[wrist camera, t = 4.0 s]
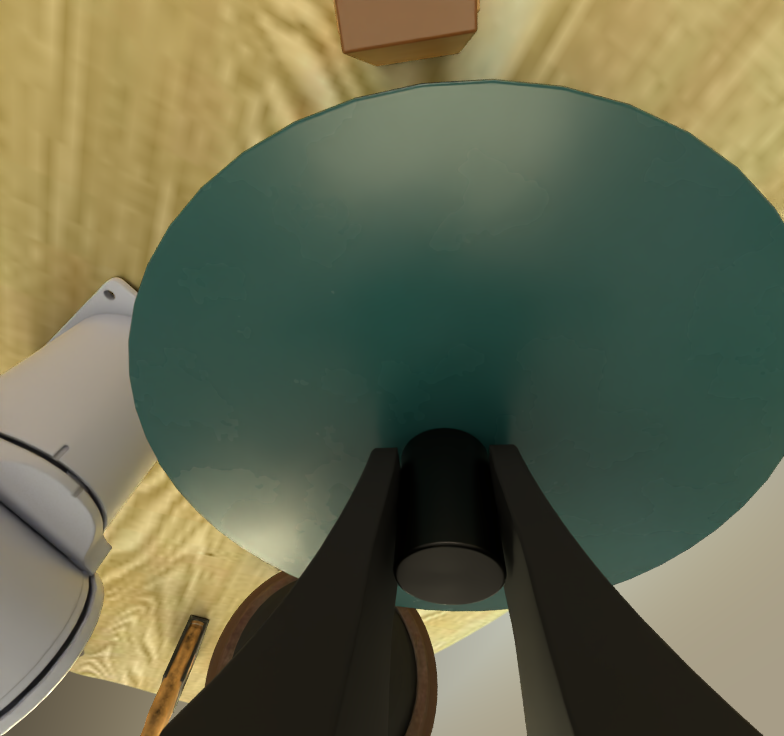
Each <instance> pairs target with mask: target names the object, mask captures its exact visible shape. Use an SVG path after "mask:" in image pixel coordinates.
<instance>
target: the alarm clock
mask: <svg viewBox="0 0 784 736" xmlns="http://www.w3.org/2000/svg"><path fill="white" fill-rule="evenodd" d="M298 579H299V578H297V577H294V576H292V575H289V574H287V573H286V572H284V571H281V572H280V573H278V574H276V575H274V576H273V577H271V578H270V579H268V580H267V581H265V582H264V583H263V584H261V585H260V586H259V587H258V588H257V589H255V590H254V591H253V592H252V593H251V594H250V595H249V596H248V597H247V598H246V599H245V600H244V602H243V603H242V604H241V605H240V606H239V608H238V609H237V610H236V611H235V613H234V614H233V615H232V617H231V619H230V620H229V622H228V623H227V625H226V627H225V628H224V630H223V632H222V634H221V636H220V638H219V640H218V643H217V645H216V647H215V650H214V652H213V655H212V658H211V661H210V665H209V669H208V673H207V677H206V683H205V687H206V686H207V685H208V684H209V683H210V682H211V681H212V680H213V679H214V677H215V676H216V675H217V674H218V673H219V672H220V671H221V670H222V669H223V668H224V667H225V666H226V665H227V664H228V662H229V661H230V660H231V659H232V658H233V657H234V656H235V655H236V654H237V652H238V651H239V650H240V649H241V648H242V647H243V646H244V645H245V644H246V642H247V641H248V640H249V639H250V638H251V637H252V636H253V635H254V634H255V632H256V631H257V630H258V629H259V628H260V627H261V626H262V624H263V623H264V622H265V621H266V620H267V618H268V617H269V616H270V615H271V614H272V612H273V611H274V610H275V609H276V607H277V606H278V605H279V603H280V602H281V601H282V600H283V598H284V597H285V596H286V595H287V593H288V592H289V591H290V589H291V588H292V587H293V586H294V584H295V583H296V581H297V580H298ZM437 687H438V686H437V671H436V662H435V657H434V652H433V648H432V644H431V641H430V638H429V635H428V632H427V630H426V627H425V625H424V623H423V621H422V619H421V617H420V615H419V613H418V612H417V610H416V609H415V608H407V607H399V606H395V609H394V617H393V627H392V638H391V659H390V682H389V710H388V736H430V735H431V732H432V728H433V724H434V718H435V713H436V705H437Z"/></svg>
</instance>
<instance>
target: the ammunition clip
mask: <svg viewBox="0 0 784 736" xmlns="http://www.w3.org/2000/svg"><path fill="white" fill-rule="evenodd" d="M208 622H209V620H207V619H203V618H200V617H196V616H192V615H191V616H190V618H189V620H188V622H187V625H186V627H185V629H184V631H183V633H182V636H181V638H180V640H179V642H178V644H177V647H176V649H175V651H174V653H173V655H172V658H171V660H170V662H169V664H168V666H167V669H166V671H165V673H164V675H163V679H162V683H161V686H160V688H159V690H158V692H157V695H156V697H155V699H154V701H153V704H152V706H151V708H150V710H149V713H148V715H147V719H146V722H145V726H144V728H143V731H142V733H141V735H140V736H159V735H160V733H161V731H162V730H163V728H164V727H165V726H166V725H167V724H168V721H169V719H170V717H171V714H172V713H173V712H174V710H175V708H176V706H177V703H178V701H179V698H180V696H181V694H182V691H183V689H184V686H185V684H186V681H187V679H188V677H189V674H190V672H191V669H192V667H193V665H194V662H195V660H196V657H197V654H198V652H199V649H200V646H201V643H202V640H203V637H204V634H205V631H206V628H207V625H208Z"/></svg>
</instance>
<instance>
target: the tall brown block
mask: <svg viewBox="0 0 784 736" xmlns="http://www.w3.org/2000/svg"><path fill="white" fill-rule="evenodd" d="M334 7H335V14H336V20H337V27H338V33H339V34H340V40H341V47H342V51H343V53H344V54H347V55H349V56H352V57H354V58H357V59H359V60H362V61H364V62H367V63H369V64H372V65H374V66H382V65H388V64H395V63H401V62H407V61H414V60H420V59H426V58H433V57H439V56H445V55H452V54H458V53H460V51H461V50H462V49H463V48H464V46H465V45H466V44H467V43H468V41H469V40H470V39H471V38H472V36H473V35H474V34H475V33H476V31H477V13H478V12H479V10H480V0H334Z"/></svg>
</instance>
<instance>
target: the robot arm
mask: <svg viewBox="0 0 784 736" xmlns="http://www.w3.org/2000/svg"><path fill="white" fill-rule="evenodd" d="M110 291H111V292H113V294H114V295H115V296H113V295H112V294H111V293H110ZM137 293H138V292H136V291H135V290H134V289H133V288H132V287H131V286H130V285H129V284H127V283H126V282H125V281H124V280H122V279H121V278H118V277H113V278H111V279H109V280H108V281H106V282H105V283H104V284H103V285H102V286H101V287H100V288H99V290H98V291H97V292H96V293H95V294H94V295H93V296H92V297H91V298H90V299H89V300H88V301H87V302H86V303H85V304H84V305H83V306H82V307H81V308H80V309H79V310H78V311H77V312H76V314H75V315H74V316H73V317H72V318H71V319H70V320H69V321H68V322H67V323H66V324H65V325H64V326H63V327H62V328H61V329H60V330H59V331H58V332H57V333H56V334H55V335H54V336H53V338H52V339H51V340H50V341H49V342H48V343H47V344H46V345H45V346H44V347H42V348H41V349H39V350H38V351H36V352H35V353H33V354H32V355H30V356H29V357H27V358H26V359H24V360H23V361H21V362H20V363H18V364H17V365H15V366H14V367H12V368H11V369H9V370H8V371H6V372H5V373H3V374H2V375H0V736H1V735H3V734H4V733H5V732H7V731H8V730H9V729H11V728H12V727H13V726H14V725H16V724H17V723H18V722H19V721H20V720H22V719H23V718H24V717H25V716H26V715H27V714H29V713H30V712H31V711H32V710H33V709H34V708H35V707H36V706H37V705H38V704H39V703H40V702H41V701H42V700H44V699H45V698H46V696H47V695H48V694H49V693H50V692H51V691H52V690H53V689H54V688H55V687H56V686H57V684H58V683H59V682H60V681H61V680H62V679H63V678H64V676H65V675H66V674H67V672H68V671H69V670H70V669H71V667H72V666H73V664H74V663H75V662H76V660H77V659H78V657H79V655H80V654H81V652H82V650H83V649H84V647H85V645H86V644H87V642H88V640H89V638H90V637H91V635H92V633H93V630H94V628H95V626H96V624H97V622H98V619H99V616H100V613H101V610H102V606H103V600H104V586H103V583H102V580H101V578H100V576H99V575H98V574H97V573H96V570H97V569H98V567H99V566H100V564H101V563H102V562H103V560H104V559H105V557H106V556H107V554H108V553H109V552H110V550H111V549H112V547H111V545H110V544H109V543H108V542H107V541H106V539H105V538H104V535H103V533H104V532H105V530H106V529H107V528H108V526H109V525H110V523H111V522H112V521H113V519H114V518H115V517H116V515H117V514H118V513H119V511H120V510H121V509H122V507H123V506H124V504H125V503H126V502H127V500H128V499H129V498H130V496H131V495H132V494H133V492H134V491H135V490H136V488H137V487H138V485H139V484H140V483H141V481H142V480H143V479H144V477H145V476H146V475H147V473H148V472H149V471H150V469H151V468H152V466H153V465H154V464H155V462H156V461H157V458H156V456H155V454H154V452H153V450H152V448H151V447H150V445H149V443H148V441H147V439H146V437H145V434H144V431H143V428H142V425H141V423H140V420H139V417H138V414H137V412H136V409H135V404H134V399H133V394H132V389H131V383H130V378H129V353H128V339H129V333H130V326H131V319H132V313H133V306H134V302H135V299H136V296H137ZM489 468H490V474H491V480H492V487H493V493H494V498H495V504H496V509H497V515H498V521H499V527H500V533H501V540H502V546H503V552H504V558H505V565H506V571H507V576H506V580H505V583H504V585H503V586H504V591H505V595H506V600H507V604H508V609H509V613H510V618H511V622H512V628H513V634H514V639H515V645H516V652H517V660H518V668H519V675H520V683H521V690H522V698H523V706H524V713H525V722H526V729H527V736H763V735H762V734H761V733H760V732H759V731H757V729H755V728H754V727H753V726H752V725H751V724H750V723H749V722H748V721H747V720H745V719H744V718H743V717H742V716H741V715H740V714H739V713H738V712H737V711H735V709H733V708H732V707H731V706H730V705H729V704H728V703H727V702H726V701H725V700H724V699H723V698H722V697H721V696H720V695H718V694H717V693H716V692H715V691H714V690H713V689H712V688H711V687H710V686H709V685H708V684H707V683H706V682H705V681H704V680H703V679H701V677H700V676H698V675H697V674H696V673H695V672H694V671H693V670H692V669H691V668H690V667H689V666H688V665H687V664H686V663H685V662H684V661H683V660H682V659H681V658H680V657H679V656H678V655H677V654H676V653H675V652H674V651H673V650H672V649H671V648H670V646H669V645H668V644H667V643H666V642H665V641H664V640H663V639H662V638H660V636H659V635H658V634H657V633H656V632H655V631H654V630H653V629H652V628H651V627H650V626H649V625H648V624H647V623H646V622H645V621H644V620H643V619H642V618H641V617H640V616H639V615H638V613H636V611H635V610H634V609H633V608H632V607H631V606H630V605H629V603H628V602H627V601H626V600H625V599H624V598H623V597H622V596H621V595H620V594H619V592H618V591H617V590H616V589H615V588H614V587H613V585H612V584H611V583H610V582H609V581H608V580H607V578H606V577H605V576H604V575H603V574H602V572H601V571H600V570H599V569H598V568H597V566H596V565H595V564H594V563H593V561H592V560H591V559H590V558H589V556H588V555H587V554H586V553H585V551H584V550H583V549H582V547H581V546H580V545H579V543H578V542H577V541H576V539H575V538H574V537H573V536H572V534H571V533H570V531H569V530H568V529H567V527H566V526H565V525H564V523H563V522H562V520H561V519H560V517H559V516H558V515H557V513H556V512H555V510H554V509H553V507H552V506H551V504H550V503H549V501H548V500H547V498H546V497H545V495H544V494H543V492H542V491H541V489H540V487H539V486H538V484H537V482H536V481H535V479H534V477H533V476H532V474H531V472H530V471H529V469H528V467H527V465H526V463H525V462H524V460H523V458H522V456H521V454H520V452H519V450H518V448H517V447H516V446H515V445H514V444H506V445H489ZM400 472H401V469H400V462H399V455H398V448H397V447H396V448H375V449H374V450H372V451H371V454H370V456H369V459H368V461H367V464H366V466H365V468H364V470H363V472H362V475H361V477H360V479H359V481H358V483H357V485H356V487H355V489H354V491H353V493H352V494H351V496H350V498H349V500H348V502H347V504H346V505H345V507H344V509H343V511H342V513H341V515H340V516H339V518H338V520H337V521H336V523H335V525H334V526H333V528H332V529H331V531H330V533H329V534H328V536H327V537H326V539H325V541H324V542H323V544H322V546H321V547H320V549H319V550H318V552H317V553H316V555H315V556H314V558H313V559H312V561H311V562H310V563H309V565H308V566H307V568H306V569H305V571H304V572H303V573H302V575H301V576H300V577H299V579H298V580H297V581H296V583H295V584H294V586H293V587H292V588H291V589H290V591H289V592H288V593H287V595H286V596H285V597H284V598H283V600H282V601H281V602H280V603H279V605H278V606H277V607H276V609H275V610H274V611H273V612H272V614H271V615H270V616H269V617H268V618H267V620H266V621H265V622H264V623H263V624H262V626H261V627H260V628H259V629H258V630H257V631H256V632H255V634H254V635H253V636H252V637H251V638H250V639H249V640H248V641H247V642H246V644H245V645H244V646H243V647H242V648H241V649H240V650H239V651H238V652H237V654H236V655H235V656H234V657H233V658H232V659H231V660H230V661H229V662H228V664H227V665H226V666H225V667H224V668H223V669H222V670H221V671H220V672H219V673H218V674H217V675H216V676H215V677H214V679H213V680H212V681H211V682H210V683H209V684H208V685H207V686H206V687H205V688H204V689H203V690H202V691H201V692H200V693H199V694H198V695H197V696H196V697H195V698H194V699H192V700H191V701H190V702H189V703H188V705H187V706H185V707H184V708H183V710H181V711H180V712H179V714H178V715H177V716H176V717H174V719H172V720H171V721H170V723H168V724H167V725H166V726H165V727H164V728H163V730H162V731H161V733H160V735H159V736H388V710H389V682H390V659H391V638H392V627H393V617H394V609H395V601H396V593H397V586H398V584H397V582H396V580H395V577H394V574H393V565H394V551H395V538H396V525H397V511H398V498H399V485H400Z"/></svg>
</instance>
